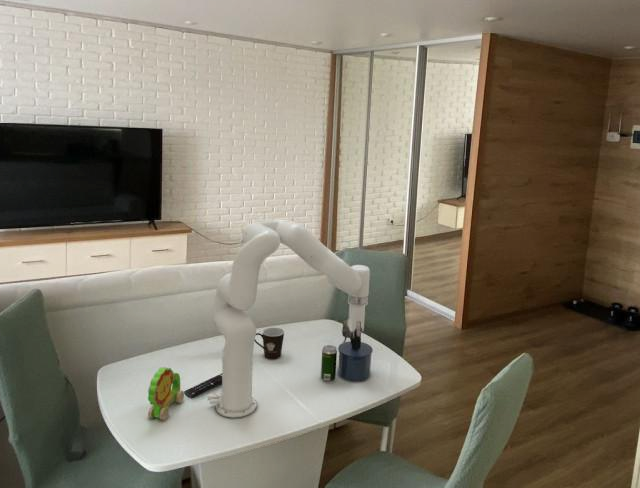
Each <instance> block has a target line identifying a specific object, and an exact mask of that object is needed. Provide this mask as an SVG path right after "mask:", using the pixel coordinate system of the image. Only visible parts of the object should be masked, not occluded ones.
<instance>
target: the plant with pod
mask: <svg viewBox="0 0 640 488" xmlns="http://www.w3.org/2000/svg"><path fill="white" fill-rule="evenodd" d="M341 329H342V330H341V335H342V337H344V340H343V342H342V343H344V342H347V340H348V339H349V341H351V334H352V332H351V331H350V329H349V325H348V319H346V320H343V321H342V328H341ZM347 338H348V339H347ZM362 342H363V343H365V342H364V341H362Z"/></svg>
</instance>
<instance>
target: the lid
mask: <svg viewBox="0 0 640 488" xmlns="http://www.w3.org/2000/svg"><path fill="white" fill-rule="evenodd" d="M343 342H344V341H343ZM343 342H342V343H340V344H339V345H338V347H337V351H338V353H339V352H340V353H341V354H343V355H345V356H348V357H354V358H360V357H366V356H369V355H370V354H371V355H372V353H373V347H372V346H371V345H370V344H368V343H367V342H364V341H361V347H360V349H352V345H351V341H350V340H349V341H345V342H344V343H343ZM363 342H364V343H363Z"/></svg>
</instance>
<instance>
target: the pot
mask: <svg viewBox="0 0 640 488" xmlns="http://www.w3.org/2000/svg"><path fill="white" fill-rule="evenodd" d="M371 364H372V353H371V354H370V355H369V356H366V357H360V358H354V357H348V356H345V355H343V354H341V353H340V352H339V351H338V367H337V368H338V369H337V373H338V376H339V377H340V378H341V379H342V380H344V381H347V382H353V383H357V382H364V381H366V380H368V379H369V378H370V377H371V367H372V366H371Z"/></svg>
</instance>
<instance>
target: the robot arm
mask: <svg viewBox="0 0 640 488" xmlns="http://www.w3.org/2000/svg"><path fill="white" fill-rule="evenodd" d="M241 240H242V242H243V244H244V245H243V246H242V247H241V248H240V249H239V250H238V251H237V252H236V254H235V256H234V258H233V261H232V267H231V272H229V273H227V274H225V275H224V276H222V277H221V278H220V280H219V282H218V283H217V286H216V291H215V298H214V299H215V300H214V307H213V308H214V309H213V325H214V326H215V328H216V330H217V331H218V332H219V333H220V334H221V335H222V336H223V337H224V340H225V341H224V346H223V350H222V358H221V360H222V362H221V363H222V365H221V366H222V367H221V392H218V393H208V394H207V401H209V403H210V404H211V405H212V404H216V412H217V413H218V414H219V415H221V416H223V417H226V418H232V419H233V418H234V419H235V418H243V417H246V416H248V415H250V414H252V413H253V412H254V411H255V410H256V409H257V400H256V398H254V397H253V367H254V366H253V365H254V362H253V360H254V346H255V340H256V336H257V335H256V333H257V326H256V324H255V322H254V320H253V319H252V318H251V316H250V315H248V314H247V313H246V312H245V311H248V310H250V309H251V308H252V307H253V306H254V305H255V304H256V303H255V302H256V300H257V293H258V292H257V291H258V283H259V274H260V269H261V267H262V264H263V262H264V261H265V260H266V259H267V258H269V257H270V256H271V255H273V254H274V253H275V252H276V251H278V249H279V247H280V244H282V245H284V246H286V247H287V248H288V249H290V250H291V251H292V252H293V253H295V254H296V255H297V257H300V258H301V260H302V261H304V262H305V264H307V265H308V266H309V267H311V268H312V269H314V270H315V271H316V272H319V273H321V274H322V275H324V276H326V279H327V282H328V283H329V284H330V285H331V286H333V287H334V288H336V289H338V290H341V291H342V292H343V293H346V294H347V304H348V305H349V307H348V319H347V320H348V325H349V329H350V331H351V332H352V334H351V345H352V349H360V347H361V342H362V333H363V332H364V331H365V320H366V319H365V317H366V306H368V304H369V298H370V297H369V296H370V280H371V279H370V278H371V270H370V268H369V266H367V265H362V264H354V265H352V266H351V265H350V264H348V263H347V262H345V260H343V259H342V258H340V257H339V256H338V255H337V254H335V253H334V252H333V251H332V250H331V249H330V248H328V247H327V246H326V245H324V244H323V243H322V241H320V240H319V239H318V238H317V237H316V236H315V235H314V234H313V233H312V232H311V231H310V230H309V229H307V227H305V226H304V225H303V224H300V223H298V222H296V221H292V220H290V219H274V220H263V221H253V222H251V223H249V224H246V225H245V227H243V229H242V231H241Z"/></svg>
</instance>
